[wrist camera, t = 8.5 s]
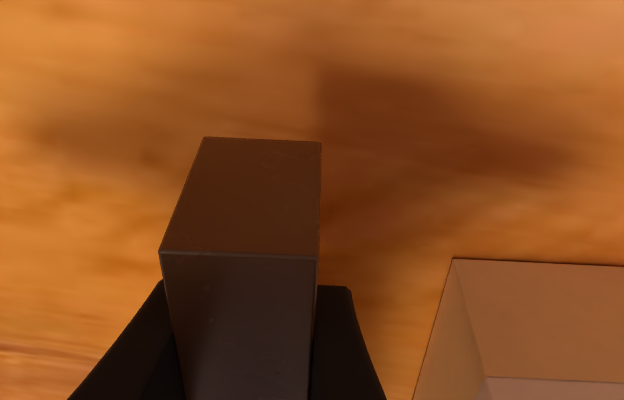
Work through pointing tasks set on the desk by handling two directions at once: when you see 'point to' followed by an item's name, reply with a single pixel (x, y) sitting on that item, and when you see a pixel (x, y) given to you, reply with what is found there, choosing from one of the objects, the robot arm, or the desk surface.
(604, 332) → the cake
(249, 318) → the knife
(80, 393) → the robot arm
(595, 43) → the desk surface
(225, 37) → the desk surface
